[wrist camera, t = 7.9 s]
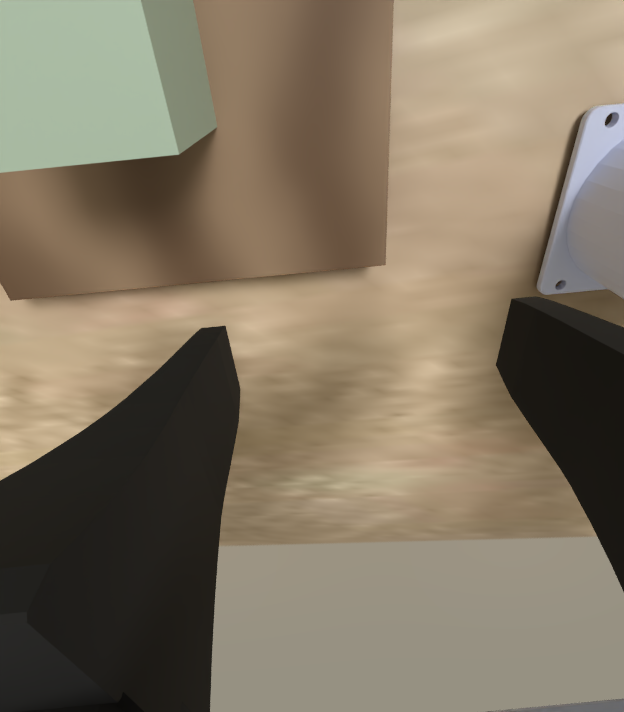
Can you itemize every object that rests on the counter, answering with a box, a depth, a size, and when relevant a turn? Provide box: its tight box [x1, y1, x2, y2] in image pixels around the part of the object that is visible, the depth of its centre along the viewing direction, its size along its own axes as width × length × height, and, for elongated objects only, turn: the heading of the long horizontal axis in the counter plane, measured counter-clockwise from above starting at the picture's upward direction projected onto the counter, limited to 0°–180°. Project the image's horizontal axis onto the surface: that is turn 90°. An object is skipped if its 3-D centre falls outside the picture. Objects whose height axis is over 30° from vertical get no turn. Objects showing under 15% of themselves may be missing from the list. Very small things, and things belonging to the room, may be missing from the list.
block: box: [0, 0, 217, 173], centre depth 10 cm, size 4×4×6 cm
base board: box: [0, 0, 394, 300], centre depth 13 cm, size 16×16×2 cm
